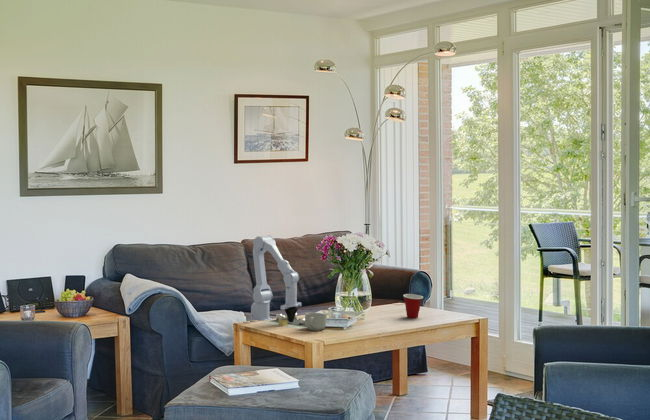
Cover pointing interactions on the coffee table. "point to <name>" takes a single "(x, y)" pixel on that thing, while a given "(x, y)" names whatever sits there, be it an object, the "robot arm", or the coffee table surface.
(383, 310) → the coffee table surface
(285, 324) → the nut
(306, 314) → the teacup
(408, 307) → the plastic cup
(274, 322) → the mat
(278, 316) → the spacers
